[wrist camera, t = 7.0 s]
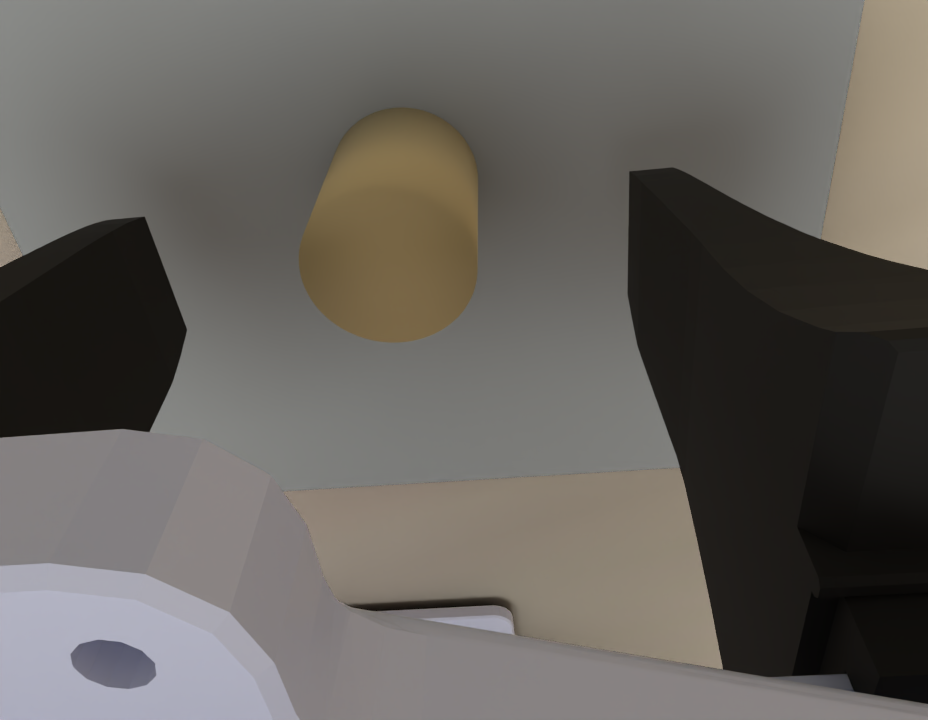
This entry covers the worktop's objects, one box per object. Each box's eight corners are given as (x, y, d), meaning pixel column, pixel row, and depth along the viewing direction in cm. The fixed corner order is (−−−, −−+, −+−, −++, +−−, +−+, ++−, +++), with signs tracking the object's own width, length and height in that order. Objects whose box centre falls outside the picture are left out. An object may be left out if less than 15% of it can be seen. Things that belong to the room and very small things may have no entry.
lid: (769, 438, 19) (829, 575, 15) (151, 476, 20) (87, 612, 16) (921, -464, 10) (1137, -584, 7) (-207, -307, 11) (-497, -345, 8)
